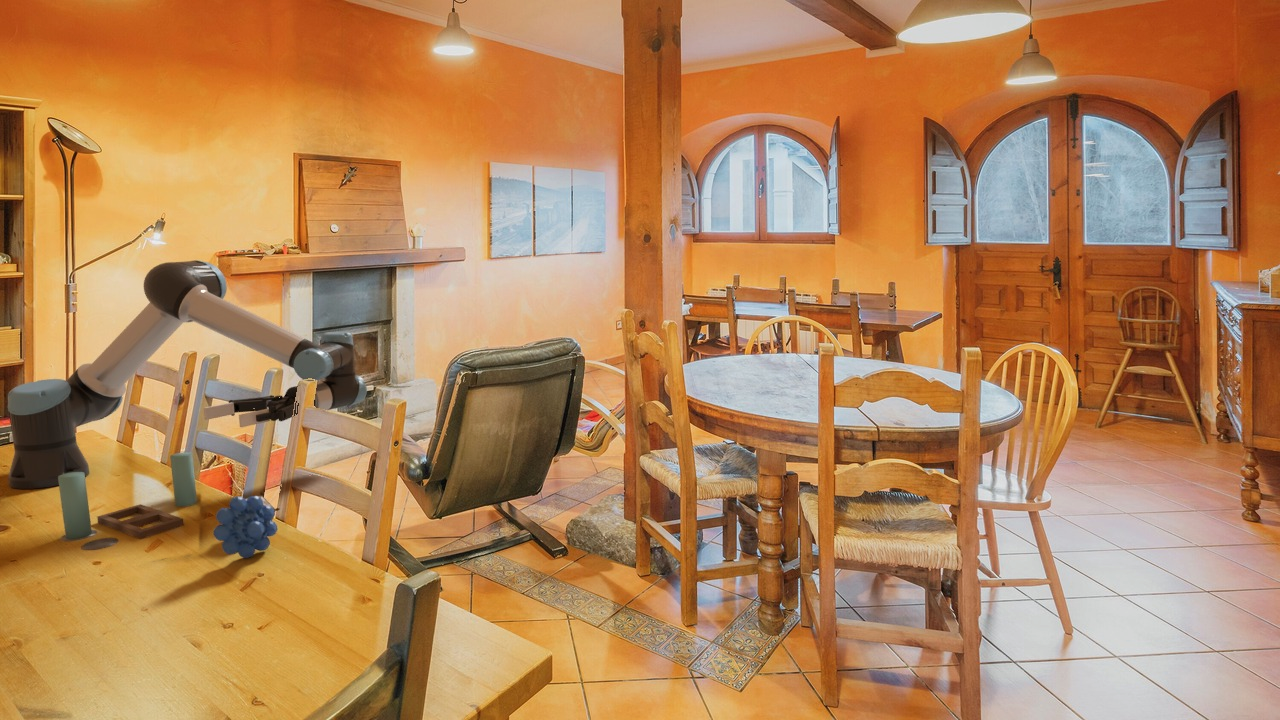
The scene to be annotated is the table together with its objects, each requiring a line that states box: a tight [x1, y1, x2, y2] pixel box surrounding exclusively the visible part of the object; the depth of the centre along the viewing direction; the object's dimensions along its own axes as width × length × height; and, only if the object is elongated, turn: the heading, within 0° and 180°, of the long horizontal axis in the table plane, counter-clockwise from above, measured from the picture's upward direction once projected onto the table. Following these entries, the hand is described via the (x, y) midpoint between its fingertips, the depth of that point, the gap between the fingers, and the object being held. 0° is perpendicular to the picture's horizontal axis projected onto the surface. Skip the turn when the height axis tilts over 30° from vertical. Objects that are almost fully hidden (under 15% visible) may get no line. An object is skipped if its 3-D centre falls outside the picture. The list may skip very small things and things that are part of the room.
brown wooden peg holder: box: [96, 503, 185, 540], centre depth 147 cm, size 16×8×2 cm, turn 60°
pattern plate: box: [60, 529, 119, 551], centre depth 140 cm, size 16×8×1 cm, turn 60°
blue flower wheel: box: [213, 495, 278, 559], centre depth 133 cm, size 12×7×12 cm, turn 150°
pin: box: [58, 472, 93, 539], centre depth 140 cm, size 4×4×12 cm
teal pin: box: [169, 451, 198, 508], centre depth 157 cm, size 4×4×12 cm
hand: (222, 417), depth 163 cm, fingers open, 13 cm apart
